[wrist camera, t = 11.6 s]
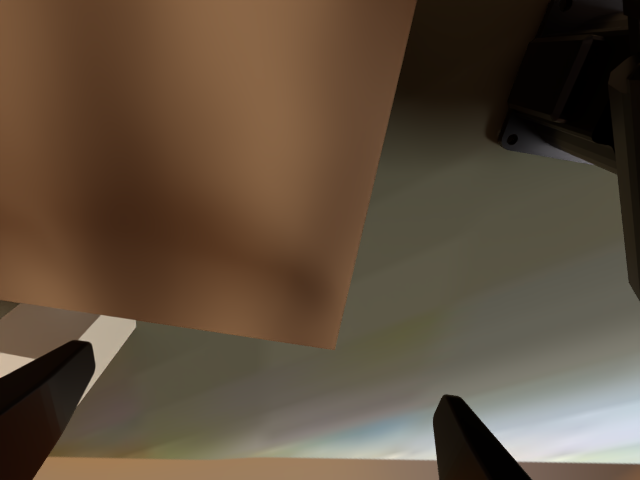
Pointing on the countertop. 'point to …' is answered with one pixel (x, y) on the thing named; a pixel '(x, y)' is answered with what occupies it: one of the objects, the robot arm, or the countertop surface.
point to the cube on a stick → (58, 335)
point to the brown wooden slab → (193, 157)
